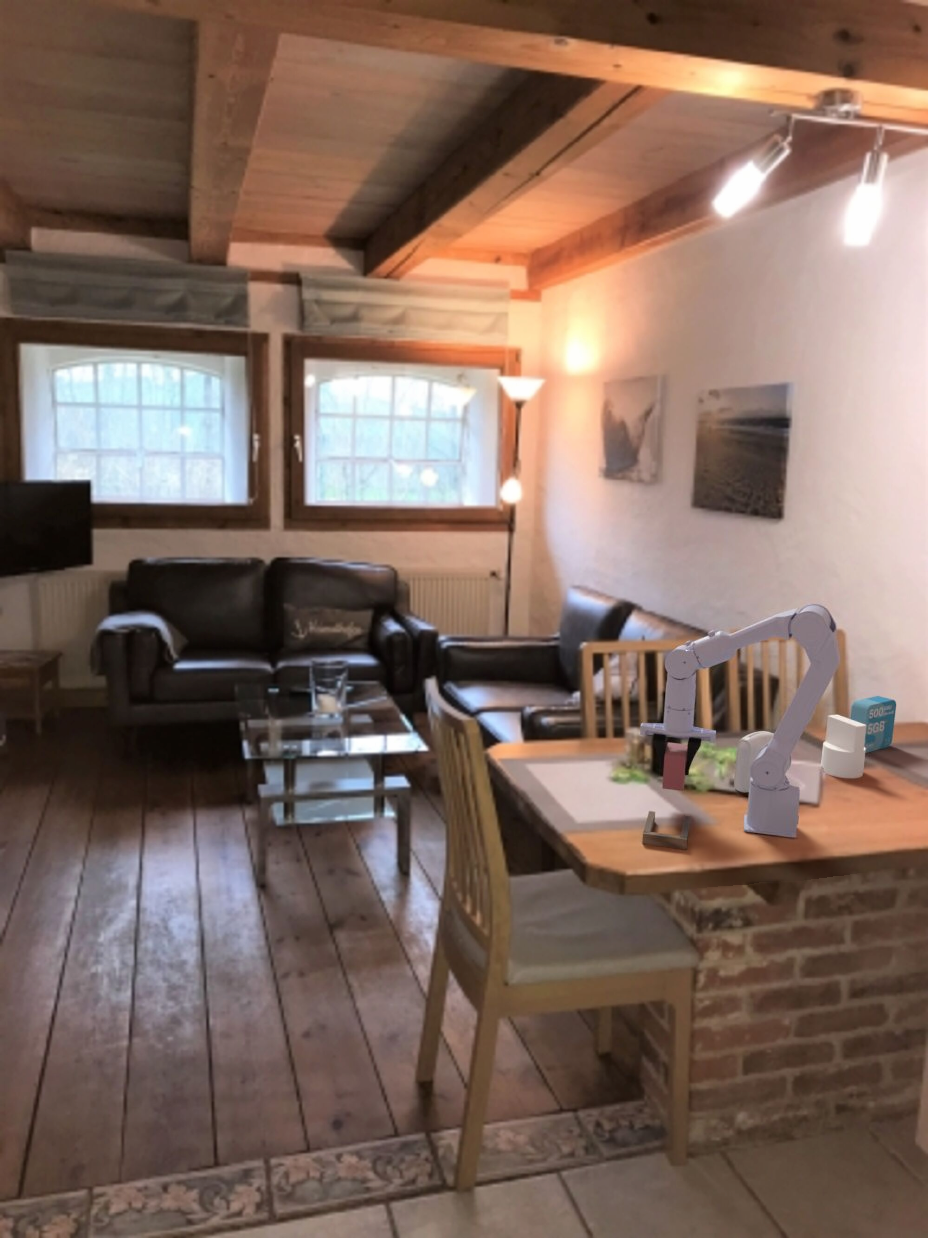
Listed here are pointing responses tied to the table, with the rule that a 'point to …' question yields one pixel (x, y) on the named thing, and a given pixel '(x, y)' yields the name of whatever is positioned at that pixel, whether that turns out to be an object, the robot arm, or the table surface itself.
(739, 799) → the table surface
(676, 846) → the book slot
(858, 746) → the cylinder with rectangular tab
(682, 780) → the dull red block
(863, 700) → the data package
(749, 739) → the photo printer
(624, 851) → the table surface
